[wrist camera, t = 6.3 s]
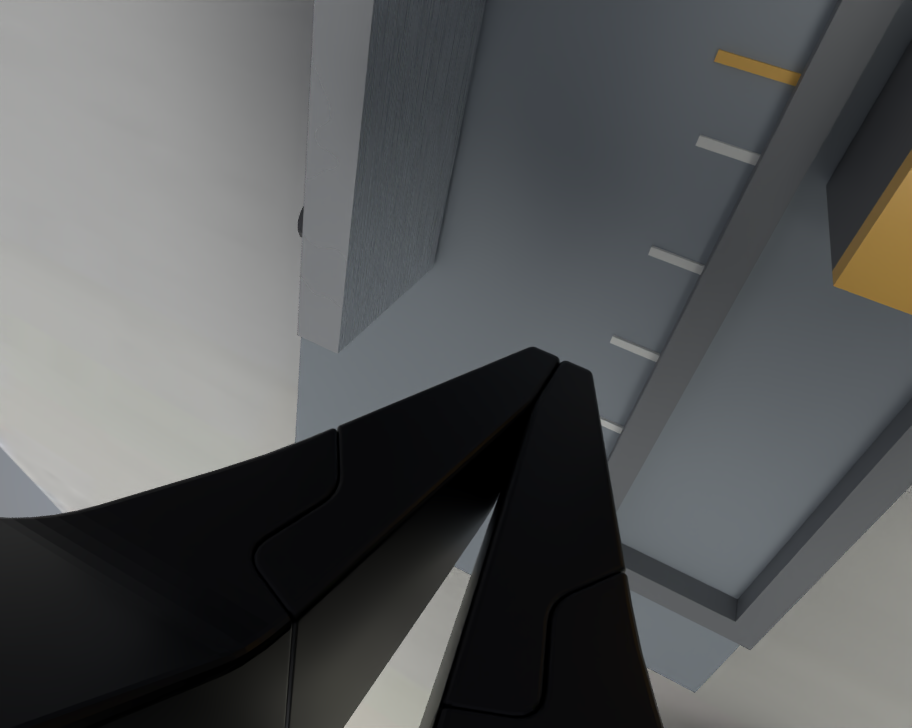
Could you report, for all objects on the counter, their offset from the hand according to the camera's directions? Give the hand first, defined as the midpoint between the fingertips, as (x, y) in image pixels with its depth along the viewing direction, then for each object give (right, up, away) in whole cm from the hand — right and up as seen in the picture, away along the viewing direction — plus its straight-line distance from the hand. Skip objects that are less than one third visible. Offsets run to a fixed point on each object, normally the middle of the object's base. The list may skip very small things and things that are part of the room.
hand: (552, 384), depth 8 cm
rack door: (-2, +7, +6) cm, 9 cm away
